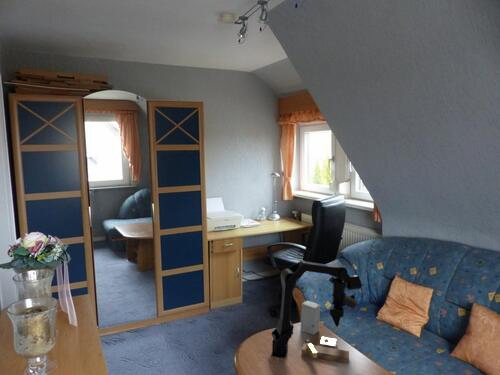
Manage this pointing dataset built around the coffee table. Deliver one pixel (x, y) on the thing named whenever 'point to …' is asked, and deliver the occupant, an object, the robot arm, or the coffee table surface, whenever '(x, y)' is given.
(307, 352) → the body
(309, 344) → the lever
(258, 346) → the coffee table surface
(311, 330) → the skincare box
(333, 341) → the grey squarish block
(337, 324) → the robot arm
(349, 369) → the coffee table surface
